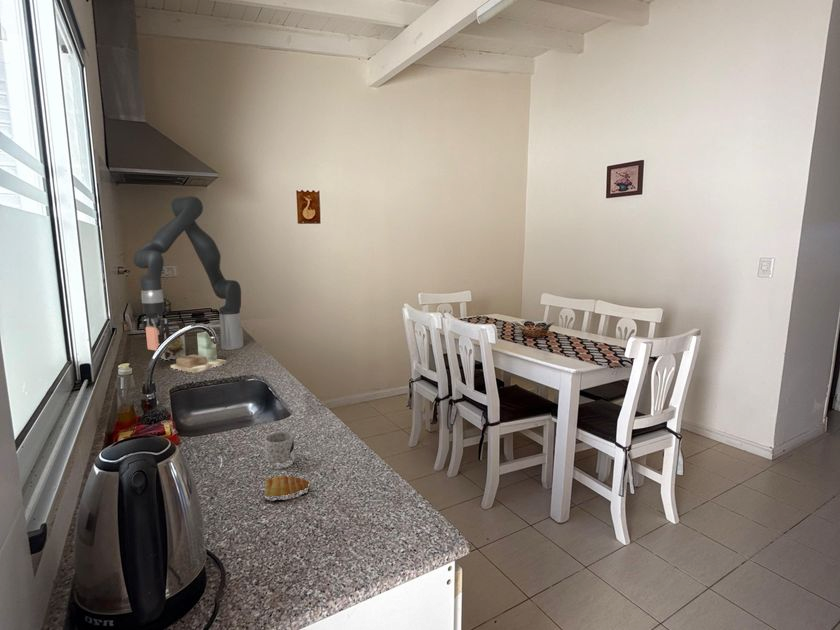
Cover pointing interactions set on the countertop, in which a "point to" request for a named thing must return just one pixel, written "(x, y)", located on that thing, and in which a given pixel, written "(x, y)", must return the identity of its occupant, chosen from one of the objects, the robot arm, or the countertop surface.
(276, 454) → the mug
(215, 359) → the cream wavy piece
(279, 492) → the pastry
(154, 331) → the brick block
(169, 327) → the coffee box
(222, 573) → the countertop surface
